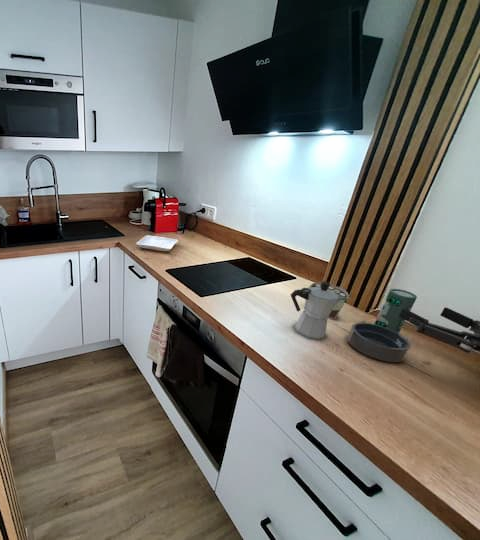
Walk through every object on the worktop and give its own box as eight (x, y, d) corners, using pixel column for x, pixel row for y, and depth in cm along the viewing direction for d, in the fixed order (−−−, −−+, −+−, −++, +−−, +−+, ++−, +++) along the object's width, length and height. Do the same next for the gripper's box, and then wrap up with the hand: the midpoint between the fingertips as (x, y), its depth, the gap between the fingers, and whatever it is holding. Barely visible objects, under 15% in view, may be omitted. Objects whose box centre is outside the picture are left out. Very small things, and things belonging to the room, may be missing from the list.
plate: (146, 239, 184) (146, 234, 183) (178, 244, 177) (179, 239, 175) (134, 248, 166) (135, 243, 165) (170, 254, 159) (170, 249, 157)
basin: (393, 342, 90) (399, 329, 88) (411, 369, 79) (419, 355, 77) (342, 331, 95) (347, 318, 93) (353, 355, 84) (359, 341, 82)
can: (372, 325, 99) (390, 286, 93) (395, 332, 95) (415, 292, 89) (372, 333, 94) (390, 293, 88) (396, 341, 91) (417, 300, 85)
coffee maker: (325, 327, 97) (343, 279, 90) (336, 342, 89) (357, 292, 82) (277, 320, 100) (291, 273, 93) (284, 334, 92) (300, 285, 85)
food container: (346, 316, 104) (356, 292, 100) (339, 321, 100) (349, 296, 96) (310, 302, 113) (318, 279, 109) (302, 306, 110) (310, 283, 106)
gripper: (464, 376, 65) (378, 323, 84) (558, 372, 67) (454, 321, 86) (481, 350, 62) (389, 301, 81) (579, 346, 64) (466, 300, 83)
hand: (422, 311), depth 84 cm, fingers open, 13 cm apart
